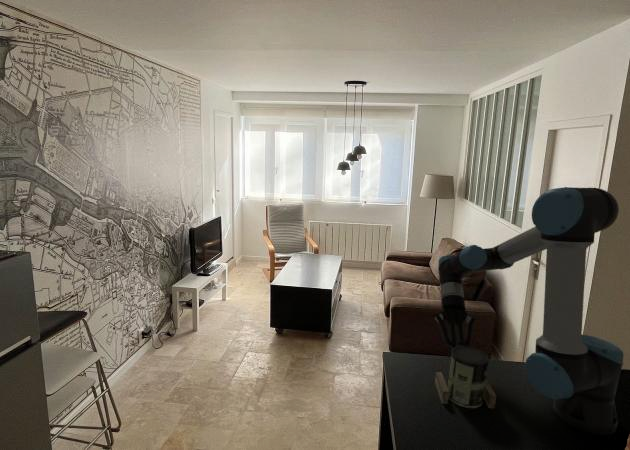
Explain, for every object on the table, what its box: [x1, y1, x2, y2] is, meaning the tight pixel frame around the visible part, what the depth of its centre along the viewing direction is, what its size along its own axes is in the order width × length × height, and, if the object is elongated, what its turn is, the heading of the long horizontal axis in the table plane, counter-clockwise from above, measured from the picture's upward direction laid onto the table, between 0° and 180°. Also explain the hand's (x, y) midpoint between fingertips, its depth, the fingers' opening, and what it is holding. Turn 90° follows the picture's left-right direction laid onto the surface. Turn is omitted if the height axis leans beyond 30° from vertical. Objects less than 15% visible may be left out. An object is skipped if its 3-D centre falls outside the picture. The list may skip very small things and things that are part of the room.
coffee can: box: [447, 346, 490, 409], centre depth 119 cm, size 10×10×14 cm
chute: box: [434, 371, 497, 409], centre depth 121 cm, size 15×10×4 cm
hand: (459, 368), depth 126 cm, fingers closed
